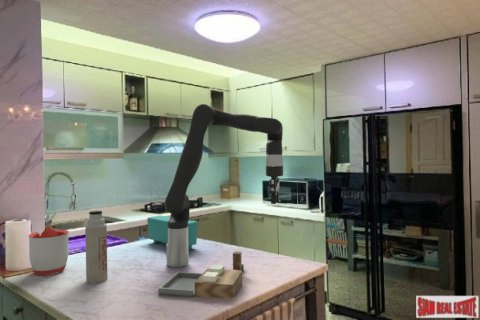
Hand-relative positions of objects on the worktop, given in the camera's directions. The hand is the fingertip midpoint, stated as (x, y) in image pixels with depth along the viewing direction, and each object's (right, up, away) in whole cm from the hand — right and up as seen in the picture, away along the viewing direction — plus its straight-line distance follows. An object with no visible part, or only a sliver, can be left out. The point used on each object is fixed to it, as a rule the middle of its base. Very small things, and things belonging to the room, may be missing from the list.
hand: (274, 202), depth 150 cm
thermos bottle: (-73, -31, -9) cm, 80 cm away
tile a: (-26, -25, -25) cm, 44 cm away
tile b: (-24, -25, -17) cm, 38 cm away
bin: (-36, -30, -18) cm, 50 cm away
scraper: (-16, -30, -5) cm, 34 cm away
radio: (-53, -30, +44) cm, 75 cm away
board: (-23, -30, -21) cm, 43 cm away
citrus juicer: (-99, -31, +3) cm, 104 cm away
